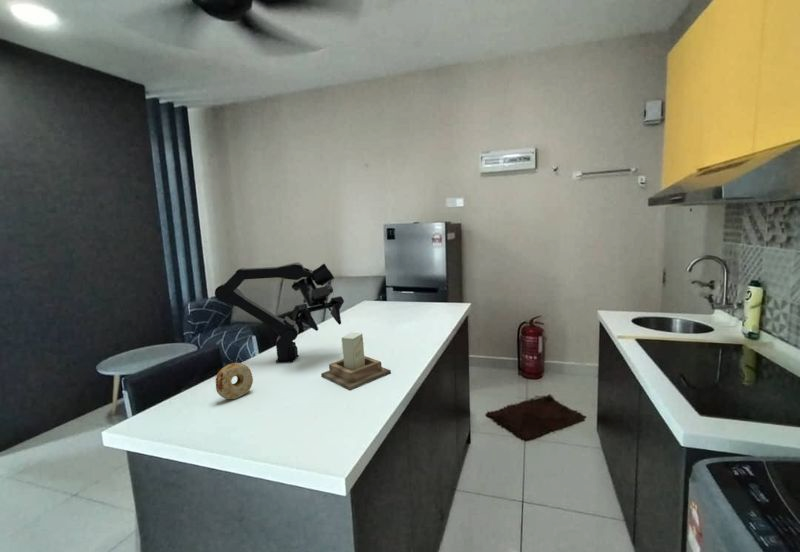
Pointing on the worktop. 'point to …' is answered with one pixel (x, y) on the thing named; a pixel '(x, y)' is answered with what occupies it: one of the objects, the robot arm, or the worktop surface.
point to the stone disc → (237, 389)
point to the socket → (355, 373)
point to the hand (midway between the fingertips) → (329, 326)
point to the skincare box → (353, 351)
